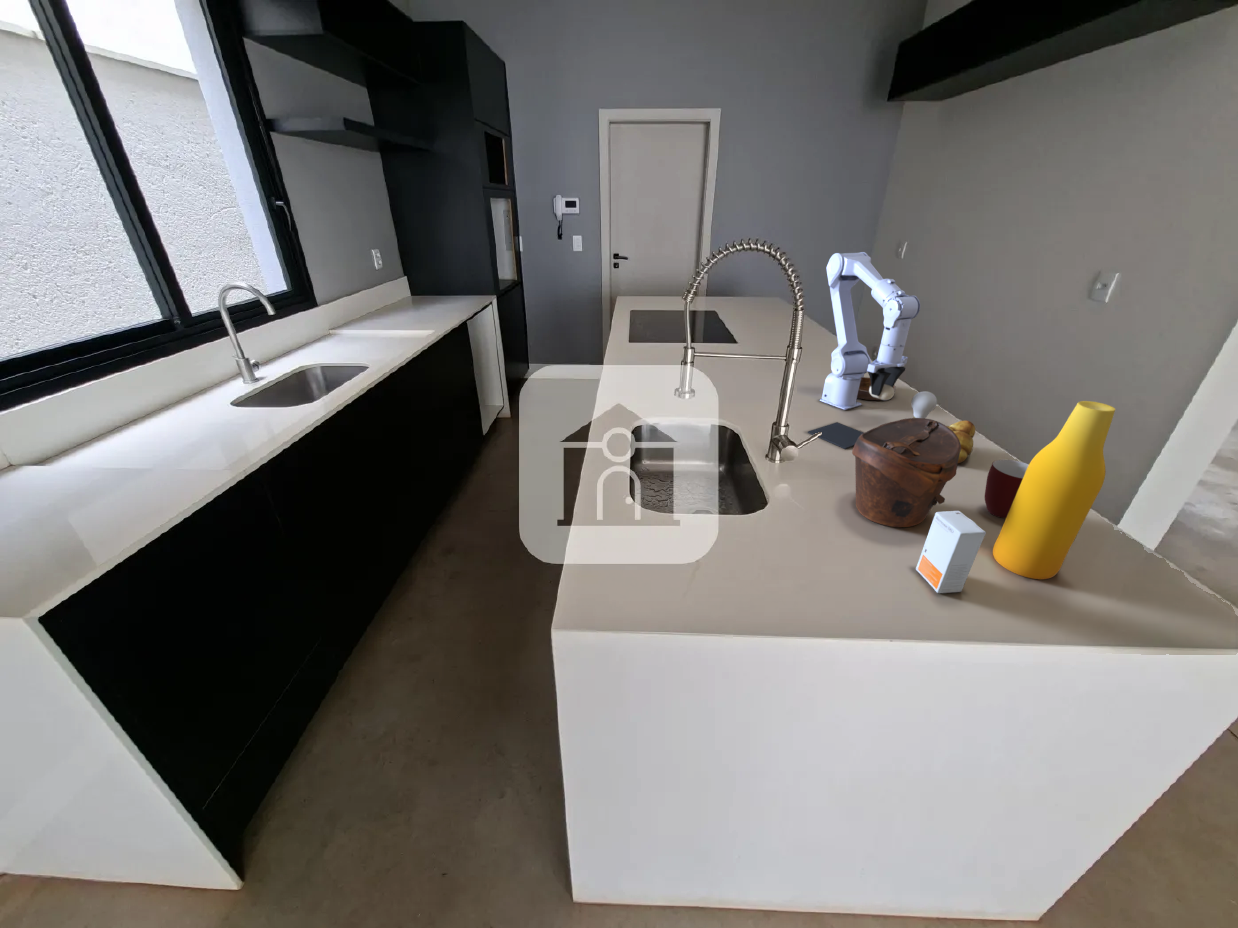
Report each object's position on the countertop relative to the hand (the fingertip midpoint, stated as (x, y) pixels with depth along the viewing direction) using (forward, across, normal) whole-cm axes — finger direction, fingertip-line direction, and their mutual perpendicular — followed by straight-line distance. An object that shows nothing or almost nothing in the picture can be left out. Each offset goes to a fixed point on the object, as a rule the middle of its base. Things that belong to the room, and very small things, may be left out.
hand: (880, 393), depth 137 cm
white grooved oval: (+2, 0, 0) cm, 2 cm away
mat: (+8, -16, -1) cm, 18 cm away
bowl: (+8, +19, +15) cm, 26 cm away
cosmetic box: (+9, -52, -47) cm, 70 cm away
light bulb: (+9, +7, -8) cm, 14 cm away
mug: (+9, -20, -43) cm, 49 cm away
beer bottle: (+9, -35, -52) cm, 63 cm away
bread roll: (+9, -4, -22) cm, 24 cm away
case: (+9, -39, -30) cm, 50 cm away
